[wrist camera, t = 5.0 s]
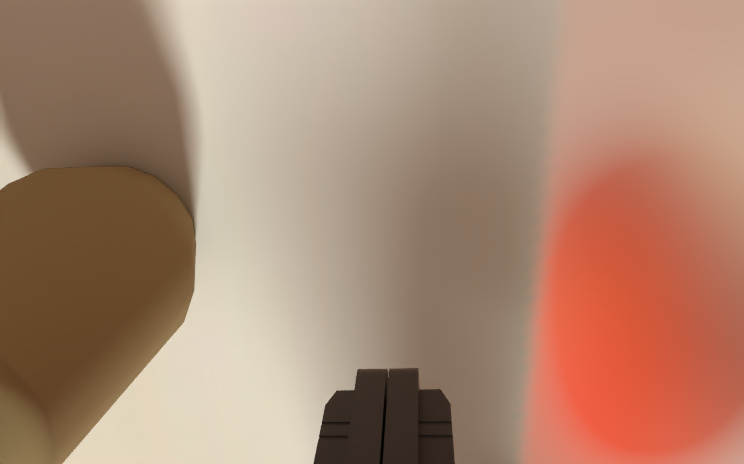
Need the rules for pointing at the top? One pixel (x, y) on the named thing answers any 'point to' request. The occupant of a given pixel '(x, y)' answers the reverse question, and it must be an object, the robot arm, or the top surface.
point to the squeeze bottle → (83, 298)
